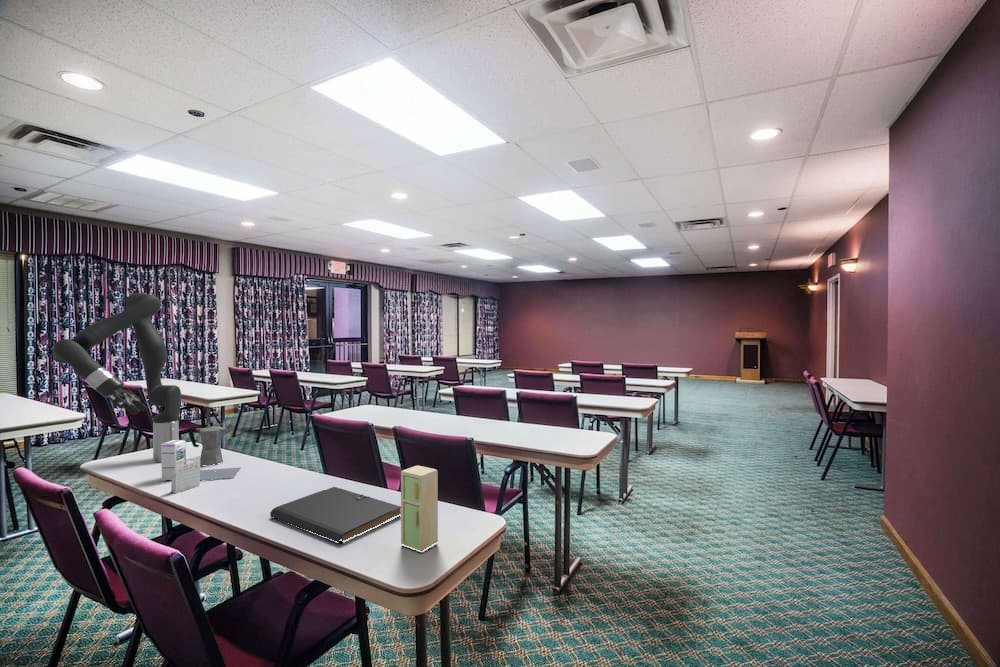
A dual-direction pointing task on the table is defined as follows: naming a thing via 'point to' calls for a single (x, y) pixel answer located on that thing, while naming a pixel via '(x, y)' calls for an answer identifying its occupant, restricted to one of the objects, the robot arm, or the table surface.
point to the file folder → (336, 513)
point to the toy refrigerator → (419, 507)
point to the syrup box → (172, 457)
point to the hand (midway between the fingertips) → (141, 411)
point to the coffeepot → (209, 443)
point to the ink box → (186, 475)
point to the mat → (218, 473)
